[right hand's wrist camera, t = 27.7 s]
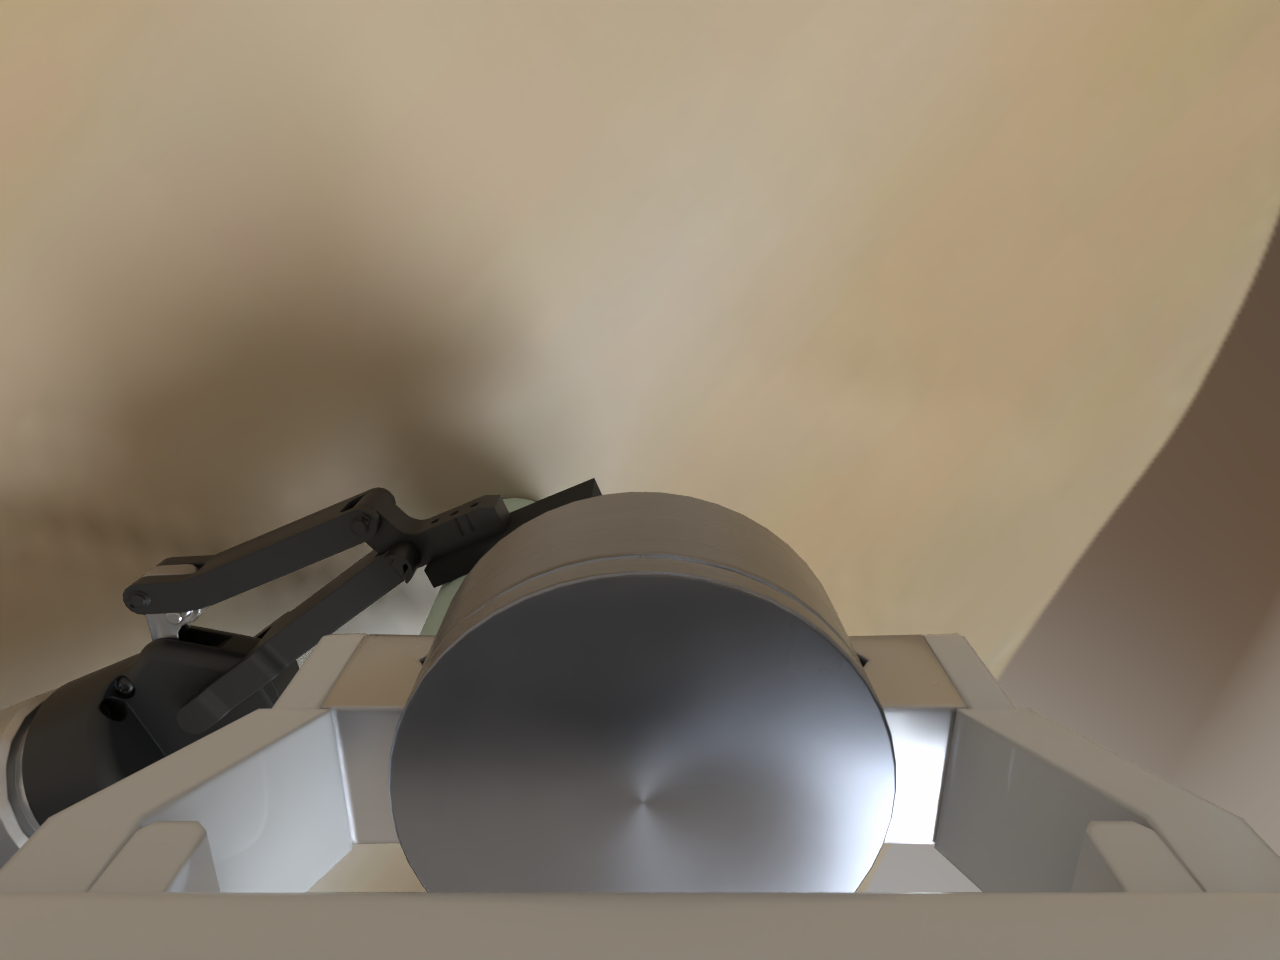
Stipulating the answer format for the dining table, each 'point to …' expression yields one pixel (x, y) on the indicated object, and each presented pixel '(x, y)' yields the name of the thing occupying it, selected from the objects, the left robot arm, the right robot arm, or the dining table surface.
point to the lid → (642, 715)
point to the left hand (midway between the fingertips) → (625, 561)
